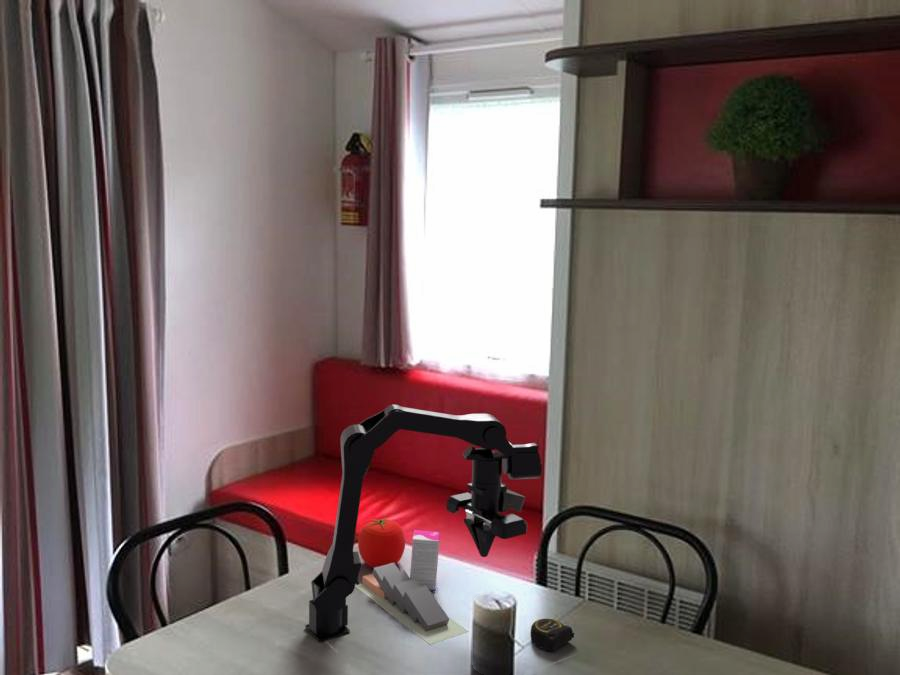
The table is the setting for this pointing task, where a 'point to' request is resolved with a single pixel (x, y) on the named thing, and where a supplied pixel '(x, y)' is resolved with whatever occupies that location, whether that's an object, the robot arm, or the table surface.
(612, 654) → the table surface
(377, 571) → the domino
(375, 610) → the table surface
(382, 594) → the domino
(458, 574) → the table surface
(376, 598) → the runner
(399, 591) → the domino
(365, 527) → the tomato
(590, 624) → the table surface
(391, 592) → the domino
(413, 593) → the domino
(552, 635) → the tape measure
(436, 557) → the supplement box
